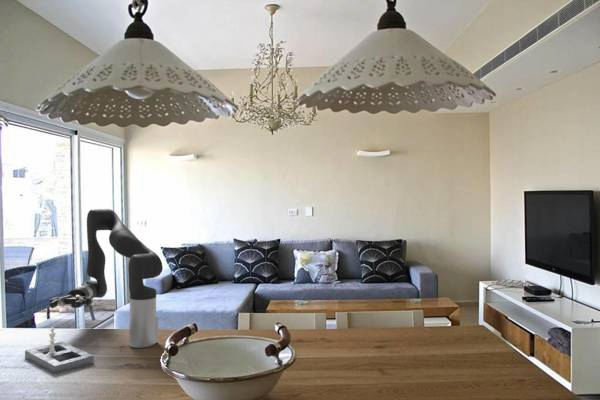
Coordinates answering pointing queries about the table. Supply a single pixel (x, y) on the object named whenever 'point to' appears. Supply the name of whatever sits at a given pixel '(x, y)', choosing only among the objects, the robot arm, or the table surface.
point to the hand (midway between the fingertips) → (64, 305)
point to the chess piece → (52, 341)
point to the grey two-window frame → (59, 357)
